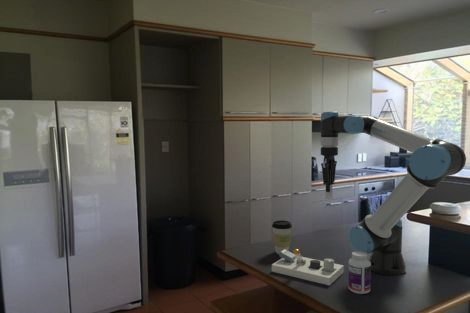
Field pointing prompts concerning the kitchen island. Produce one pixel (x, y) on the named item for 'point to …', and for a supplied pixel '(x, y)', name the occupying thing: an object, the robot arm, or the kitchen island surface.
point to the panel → (307, 270)
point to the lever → (298, 256)
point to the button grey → (328, 265)
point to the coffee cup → (281, 235)
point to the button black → (315, 264)
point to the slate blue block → (287, 255)
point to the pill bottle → (359, 273)
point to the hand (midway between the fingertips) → (328, 198)
